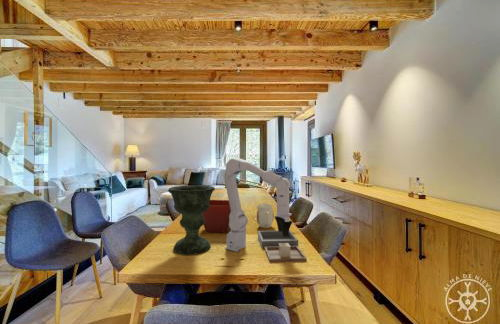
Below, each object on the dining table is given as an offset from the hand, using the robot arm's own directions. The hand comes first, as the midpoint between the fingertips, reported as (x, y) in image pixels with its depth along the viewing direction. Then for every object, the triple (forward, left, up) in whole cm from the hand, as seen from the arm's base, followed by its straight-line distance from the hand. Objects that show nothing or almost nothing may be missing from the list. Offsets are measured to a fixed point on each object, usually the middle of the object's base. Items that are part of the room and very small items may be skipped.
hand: (283, 233), depth 127 cm
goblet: (-21, +39, -10) cm, 45 cm away
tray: (-2, -2, -10) cm, 10 cm away
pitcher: (+34, +34, -10) cm, 49 cm away
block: (-2, -2, -9) cm, 9 cm away
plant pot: (+11, +53, -10) cm, 55 cm away
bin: (+12, +11, -10) cm, 19 cm away
